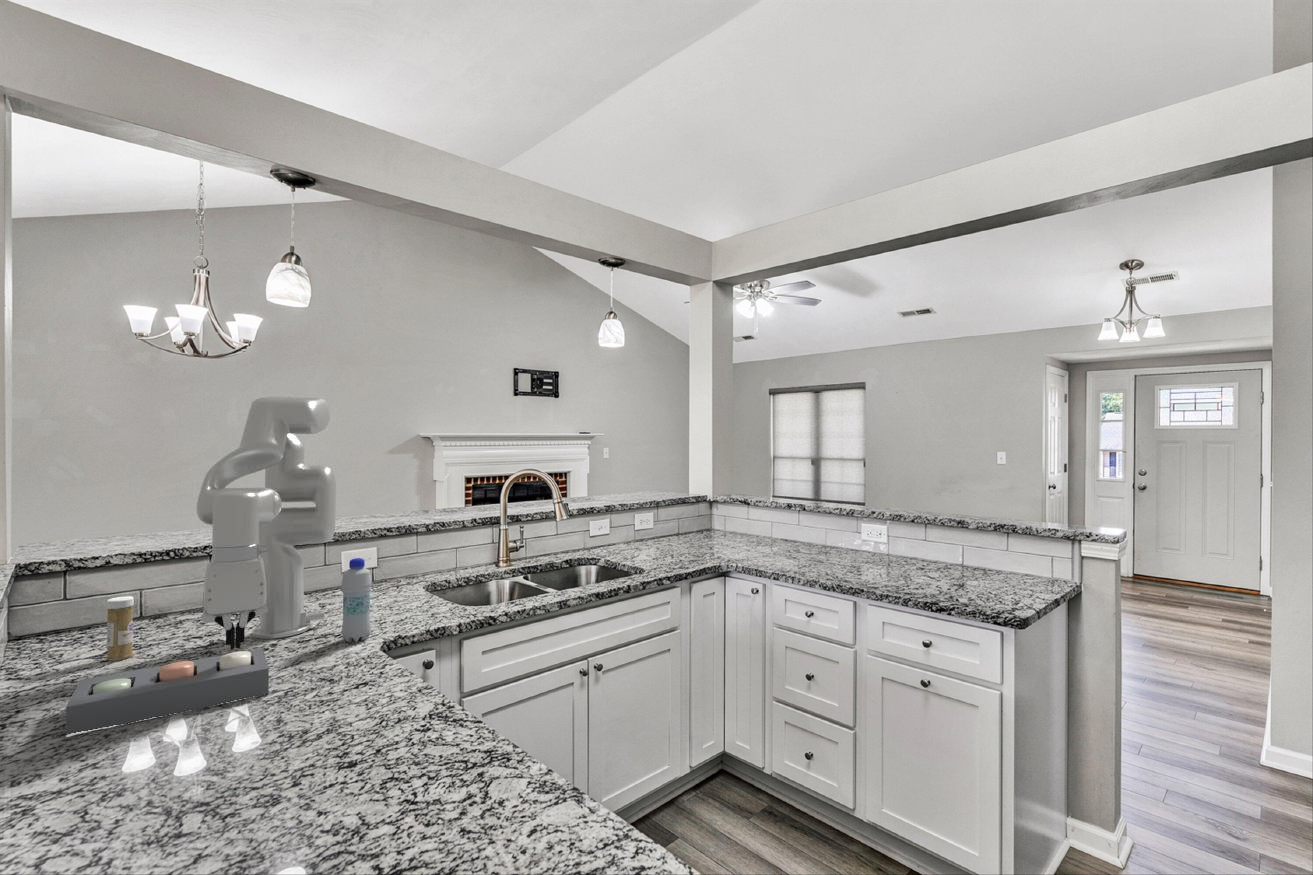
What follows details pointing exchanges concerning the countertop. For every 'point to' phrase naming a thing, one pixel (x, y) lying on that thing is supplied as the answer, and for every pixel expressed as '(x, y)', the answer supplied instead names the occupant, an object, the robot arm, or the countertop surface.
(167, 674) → the terracotta button
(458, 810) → the countertop surface
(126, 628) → the sprinkles bottle
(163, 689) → the button box
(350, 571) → the bottle
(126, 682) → the sage button
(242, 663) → the cream button
